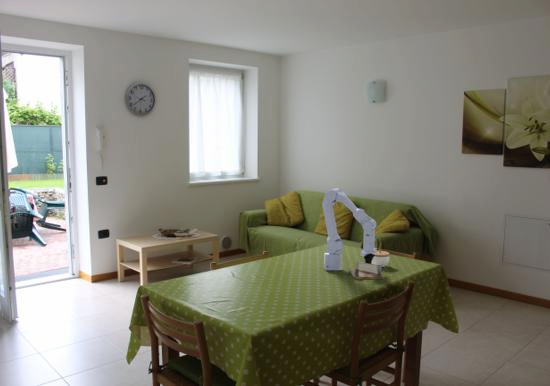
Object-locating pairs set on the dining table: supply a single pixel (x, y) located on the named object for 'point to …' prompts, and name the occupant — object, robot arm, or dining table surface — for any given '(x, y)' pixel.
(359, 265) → the white bar
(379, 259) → the lidded jar
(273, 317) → the dining table surface
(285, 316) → the dining table surface
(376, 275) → the board
